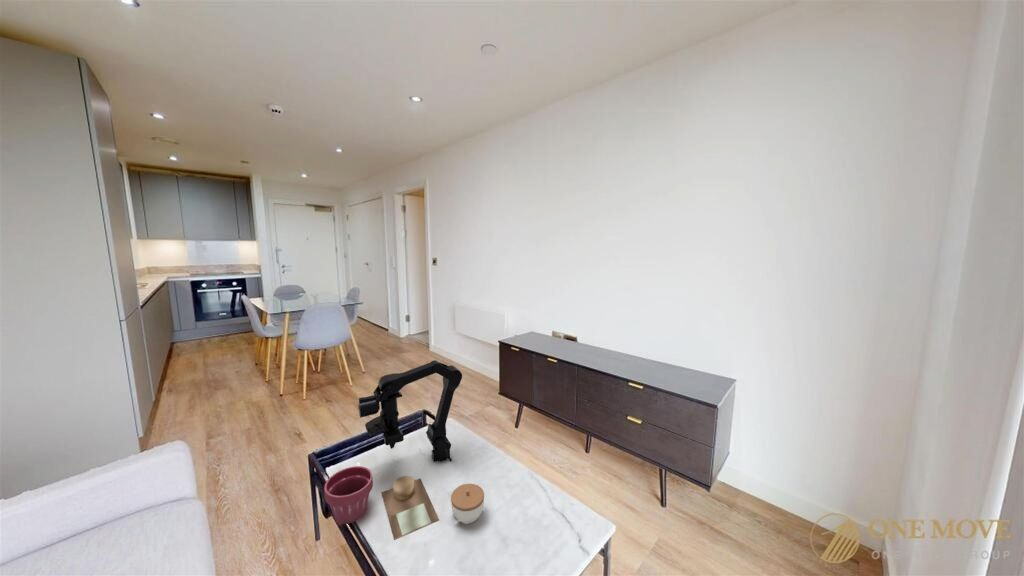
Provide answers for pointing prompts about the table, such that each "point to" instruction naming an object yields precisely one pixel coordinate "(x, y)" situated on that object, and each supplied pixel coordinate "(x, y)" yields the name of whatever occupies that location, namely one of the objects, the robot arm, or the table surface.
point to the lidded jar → (467, 502)
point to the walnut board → (409, 511)
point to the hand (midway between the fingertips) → (392, 447)
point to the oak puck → (403, 488)
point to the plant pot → (348, 493)
